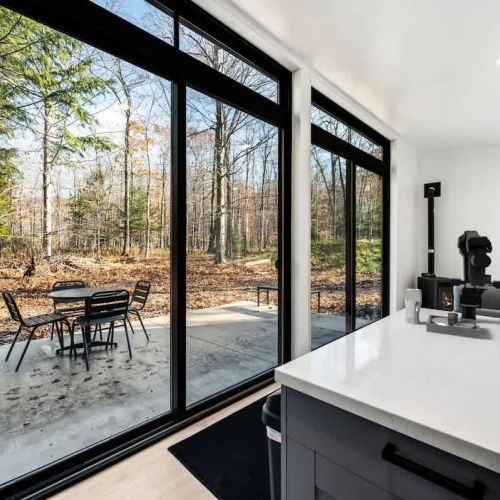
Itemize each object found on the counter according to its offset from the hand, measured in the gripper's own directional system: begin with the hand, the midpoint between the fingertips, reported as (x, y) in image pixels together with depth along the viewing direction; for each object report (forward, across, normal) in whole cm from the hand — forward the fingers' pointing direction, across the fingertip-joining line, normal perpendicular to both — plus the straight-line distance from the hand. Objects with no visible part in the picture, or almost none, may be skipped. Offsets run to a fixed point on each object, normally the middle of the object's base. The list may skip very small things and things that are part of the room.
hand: (476, 304), depth 132 cm
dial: (+9, -8, -5) cm, 13 cm away
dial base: (+11, -8, -4) cm, 14 cm away
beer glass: (+11, -24, 0) cm, 26 cm away
